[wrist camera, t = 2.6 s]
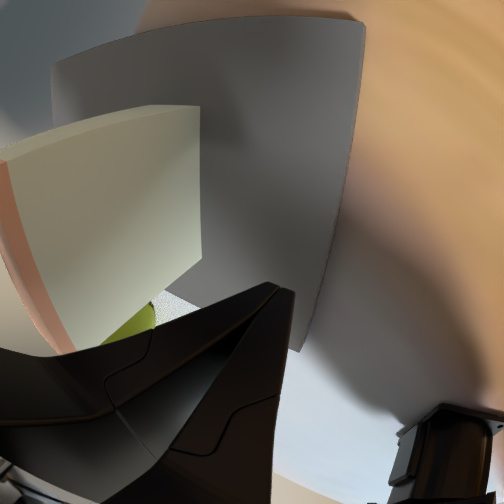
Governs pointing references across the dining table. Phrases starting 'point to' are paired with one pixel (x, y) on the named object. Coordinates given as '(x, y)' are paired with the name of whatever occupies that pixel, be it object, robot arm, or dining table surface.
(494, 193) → the dining table surface
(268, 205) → the mat
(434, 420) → the robot arm
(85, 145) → the slab
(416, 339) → the dining table surface
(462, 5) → the dining table surface
